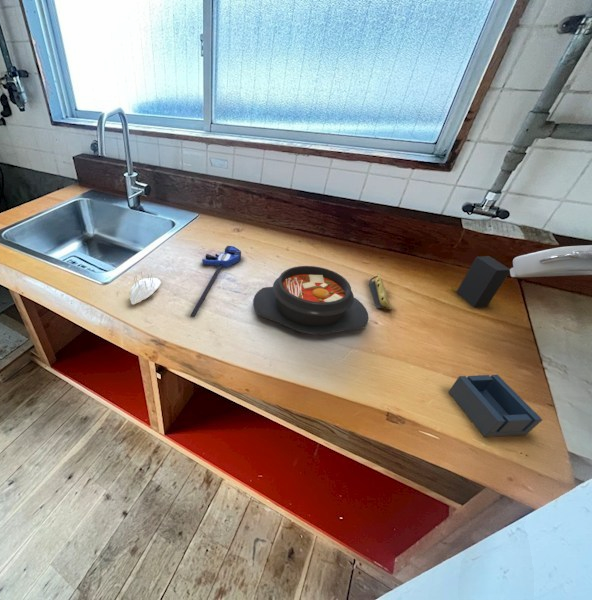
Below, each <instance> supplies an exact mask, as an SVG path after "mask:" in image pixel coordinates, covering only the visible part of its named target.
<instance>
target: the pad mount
mask: <svg viewBox="0 0 592 600" xmlns="http://www.w3.org/2000/svg"><path fill="white" fill-rule="evenodd" d="M450 387H451V388H449V390H448V394H449V395H450V396H451V397H452V399H454V401H455V402H456V404H457V405H458V406H459V407H460V409H461V410H462V411H463V412H464V413H465V415H466V417H468V419H469V420H470V421H471V423H472V424H473V425H474V426H475V427H476V428H477V430H478V431H479V433H480V434H481V435H482V436H483V437H484V438H492V437H516V436H517V437H519V436H520V437H521V436H527V435H528V434H529V433H530V432H531V431H532V430H533V429H535V427H537V426H538V425H539V424H540V423H541V422H542V421H543V418H542V417H540V415H538V413H537V412H535V410H534V409H533V408H532V407H531V406H530V405H529V404H528V403H527V402H526V401H525V400H524V399H522V397H521V396H520V395H519V394H517V392H516V391H515V390H514V389H513V388H512V387H511V386H510V385H509V384H508V383H507V382H506V381H504V379H503V378H501V376H500V375H498V374H491V375H489V374H482V375H481V374H479V375H478V374H477V375H468V376H466V375H459V376H458V377H457V378H456V380H455V382H454V383H453V384H452V386H450Z"/></svg>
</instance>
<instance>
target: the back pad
mask: <svg viewBox="0 0 592 600" xmlns="http://www.w3.org/2000/svg"><path fill="white" fill-rule="evenodd" d="M510 269H511V268H509V267H507V266H506V265H504V264H503V263H501V262H499V261H498V260H497V259H495V258H493V257H492V256H490V255H483V256H475V258H474V260H473V262H472V263H471V265H470V267H469V269H468V270H467V272H466V273H465V276H464V278H463V279H462V281H461V283H460V285H459V287H458V288H457V290H456V292H455V293H456V294H457V295H458V296H459V297H461V298H462V299H463V300H465V302H467V303H468V304H469V305H470V306H471V307H472V308H487V307H488V305H489V304H490V303H491V301H492V300H493V298H494V297H495V295H496V294H497V292H498V290H499V289H500V288H501V286H502V284H503V283H504V281H505V280H506V278H507V277H508V275H509V274H510Z"/></svg>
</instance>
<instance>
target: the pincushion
mask: <svg viewBox="0 0 592 600" xmlns="http://www.w3.org/2000/svg"><path fill="white" fill-rule="evenodd" d="M140 273H141V274H143V273H142V271H141V272H140ZM152 275H153V274H152V273H151V274H150V276H152ZM150 276H149V275H147V278H144V277H141V278H142V279H141V280H138V277H137V276H135V277H133V278H134V280H137V281H136V282H135V283H134V284H133V286H132V287H131V289H130V291H129V300H130V304H131V305H133V306H135V305H136V304H137V303H141V302H142V301H143V300H147V299H148V298H149V297H150V296H151V295H153V294H154V292H155V291H156V290H158V288H159V286H161V283H162V282H161V280H160V278H157V277H150Z"/></svg>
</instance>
